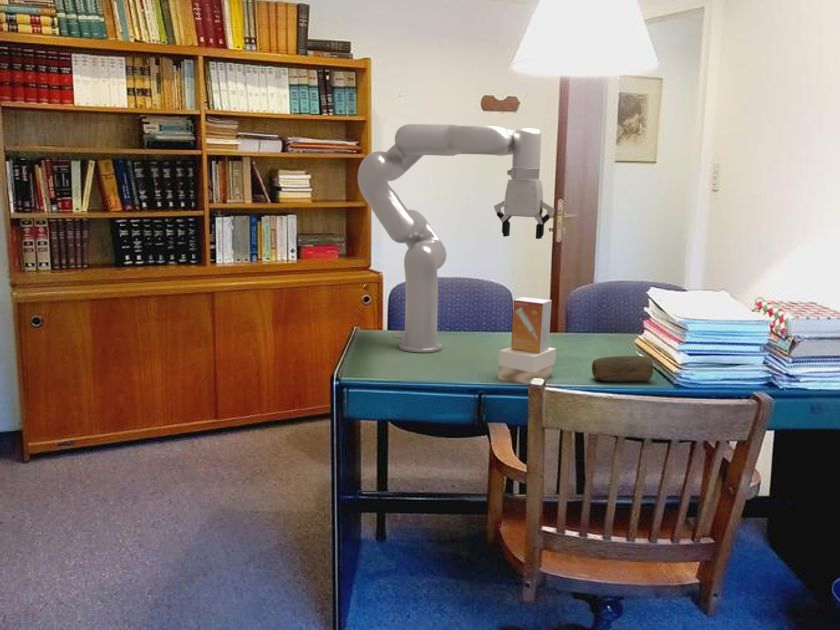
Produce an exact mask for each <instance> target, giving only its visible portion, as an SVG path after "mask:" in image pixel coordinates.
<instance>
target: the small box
mask: <svg viewBox="0 0 840 630" xmlns="http://www.w3.org/2000/svg"><path fill="white" fill-rule="evenodd" d="M512 309H513V311H512V312H513V313H512V324H511V325H512V327H511V343H510V347H511V349H516V350H522V351H528V352H534V353H539V354H540V353H542V352H544V351H546V350H548V349H549V346H550V332H551V316H552V299H545V298H538V297H537V298H536V297H528V296H522V297H517V298H516V299H514V300H513V308H512Z"/></svg>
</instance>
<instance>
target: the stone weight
mask: <svg viewBox="0 0 840 630" xmlns="http://www.w3.org/2000/svg"><path fill="white" fill-rule="evenodd" d="M653 363H654V362H653V360H652V358H651V357H648V356H642V355H623V356H622V355H620V356H605V357H600V358H599V357H598V358H596V359H593V361H592V364H591V373H592V375H593V378H594V379H595V380H599V381H602V382H614V381H617V383H619V381H621V382H622V381H633V382H643V381H649V380H651V379H652V377H653V375H654V365H653Z"/></svg>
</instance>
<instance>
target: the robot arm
mask: <svg viewBox="0 0 840 630" xmlns="http://www.w3.org/2000/svg"><path fill="white" fill-rule="evenodd" d="M541 147H542V132H541V130H540V129H538V128H529V127H528V128H526V127H525V128H524V127H523V128H517V129H509V128H506V127H501V126H497V125H496V126H495V125H457V124H427V123H425V124H424V123H423V124H422V123H420V124H419V123H418V124H417V123H410V124H404V125H402V126H400V127H399V128H398V129H397V130H396V132H395V134H394V145H392V146H391V147H390V148H389V149H388V150H386V151H380V150H379V151H373V152H370V153H369V154H367V155H366V156H364V158H363V159H362V161H361V162H360V165H359V167H358V171H357V184H358V188H359V191H360V193H361V196H362V197H363V199H364V200H365V202H366V203H367V204H368V206H369V208H370V209H371V210H372V212H373V213H374V215H375V216H376V218H377V219H378V221H379V223H380V224H381V225H382V227H383V228H384V230H385V232H386V234H388V236H389V238H390V239H391V240H392V241H394V243H398V244H405V245H406V246H407V250H406V252H405V254H404V258H403V259H404V260H403V266H404V267H403V268H404V278H405V279H404V280H405V305H404V306H405V309H404V312H405V314H404V331H397V330H395V332H394V334H393V338H394V339H397V340H401V342H399V343H398V344H399V349H400V350H402V351H404V352H410V353H423V354H424V353H434V352H439V351H441V350H442V349H443V345H442V343H441V342H438V319H439V318H438V315H439V314H438V313H439V307H438V306H439V280H438V270H439V269H440V268H441V267H443V265H444V264H445V262H446V261H447V250H446V247H445V246H444V244H443V242H442V241H441V239H440V238H439V236H438V235H437V233H436V232H435V230H434V228H432V226H431V224H430V223H429V222H428V220H427V219H426V218H425V217H424V215H423V214H422V213H420V212H419V211H417V210H415V209H408V208H407V207H406V205H405V204H404V203H403V201H402V200H401V199H400V197H399V195H398V194H397V192H395V190H394V189H393V188H392V187H391V186H390V184H389V183H388V182H392V181H395V180H398V179H399V178H401V177H402V176H403V175H405V173H407V171H409V169H411V167H413V166H414V165H415V164H416V163H417V162H418V161H419V160H421V158H423V156H438V157H439V156H441V157H442V156H444V157H445V156H446V157H447V156H448V157H450V156H452V157H454V156H458V155H486V156H488V155H489V156H499V157H500V156H502V157H503V156H510V155H512V162H511V164H512V165H511V168H510V169H508V170H507V172H506V174H507V176H510V178H511V179H508V180H507V183H506V189H505V194H504V195H505V196H504V200H502V201H501V202H499V203H497V204H495V205H494V207H493V208H494V211H495V214H496V216H497V217H498V218H499V219H500V222H502V224H501V233H502V237H504V238H506V237H509V236H510V231H511V222H510V221H509V220H510V219H512V217H523V218H534V219H535V220H536V222H537V224H536V225H535V226H536V227H535V239H536V240H539V239H540V240H541V239H542V238H543V236H544V233H545V231H544V230H545V224H546V223H547V222H548V221H549V220H550V219H551V218H552V216H553V213H555V208H554V207H552V206H551V205H549V204H548V203H546V202H544V192H543V183H542V180H540V170H541V169H540V167H541V153H542V152H541V150H542V148H541ZM502 208H503V212H502ZM544 210H546V213H545V215H544V216H543V213H544Z"/></svg>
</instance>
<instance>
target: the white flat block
mask: <svg viewBox="0 0 840 630" xmlns="http://www.w3.org/2000/svg"><path fill="white" fill-rule="evenodd" d="M498 352H499V355H498V367H499V366H502V367H507V368H512V369H518V370H523V371H528V372H533V373H534V372H536V371H539V370H541V369H543V368H546V367H548V366H550V365H552V366H553V365H555V364H556V360H557V359H556V358H557V348H556V347H551V346H550V347H549V349H548V350H546V351H544V352H542V353H540V354H539V353H534V352H528V351H522V350H516V349H511V346H510V347H506V348H504V349H500V350H499V351H498Z"/></svg>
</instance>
